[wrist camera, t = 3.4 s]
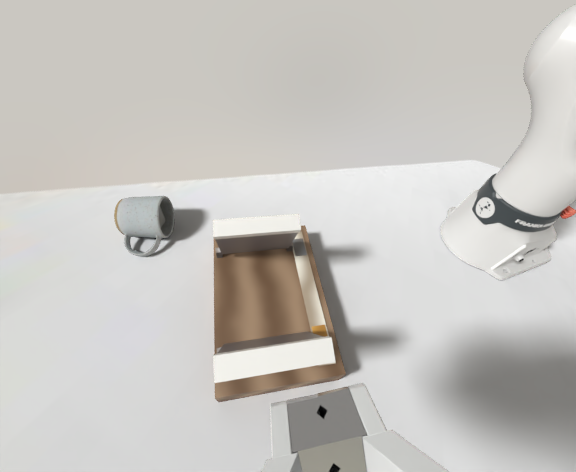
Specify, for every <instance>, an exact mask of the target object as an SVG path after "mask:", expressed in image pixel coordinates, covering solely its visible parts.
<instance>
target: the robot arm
mask: <svg viewBox="0 0 576 472" xmlns="http://www.w3.org/2000/svg"><path fill="white" fill-rule="evenodd" d="M523 74H524V81H525V84H526V86H527V89H528V91H529V94H530V98H531V109H532V112H531V120H530V124H529V127H528V130H527V133H526V135H525V137H524V139H523V141H522V142H521V144H520V145H519V147H518V148H517V150H516V151H515V152H514V154H513V155H512V156H511V157H510V159H509V160H508V161H507V162H506V164H505V165H504V166H503V167H502V168H501V170H500V171H499V172H498V173H497V174H494V175H493V176H491V177H490V178H489V179H488V180H487V181H486V182H485V183H484V184H483V186H482V187H481V188H480V189H479V190H475V191H473V192H472V193H471V194H470V195H469V196H468V197H467V198H466V199H465V200H464V201H463V202H462V203H461V204H460V205H459V206H458V207H452V208H450V209H449V210H448V213H447V219H446V220H445V221H444V222H443V223H442V225H441V236H442V239H443V241H444V243H445V244H446V246H447V247H448V248H449V250H450V251H451V252H452V253H453V254H454V255H456V256H457V257H458V258H459V259H461V260H462V261H464V262H466V263H467V264H469V265H471V266H474V267H476V268H479V269H482V270H484V271H486V272H487V273H489V274H490V275H491V276H493V277H495V278H496V279H498V280H505V279H508V278H510V277H513V276H515V275H518V274H520V273H523V272H525V271H528V270H530V269H532V268H535V267H537V266H540V265H542V264H545V263H547V262H548V261H550V260H551V255H550V252H549V250H548V248H547V247H548V246H549V245H551V244H552V243H553V242H555V241H556V239H557V233H556V231H555V229H554V227H553V224H554V223H555V222H556V221H557V219H558V217H559V216H561V217H562V218H563V219H565V218H568V217H571V216H572V215H574V214H575V213H576V210H574V209H573V208H571V207H570V206H569V205H570V204H572V203H573V202H574V201H575V200H576V4H575V5H573V6H571V7H570V8H568V9H567V10H565V11H564V12H562V13H561V14H560V15H558V16H557V17H556V18H555V19H554V20H552V21H551V22H550V23H549V24H548V25H547V26H546V27H545V28H544V29H543V31H542V32H541V33H540V34H539V36H538V37H537V38H536V40H535V41H534V43H533V44H532V46H531V48H530V50H529V52H528V54H527V57H526V60H525V64H524V73H523ZM270 419H271V448H272V459H268V460H266V462H265V464H264V466H263V468H262V470H261V472H449V471H448V470H446V469H445V468H444V467H442V466H441V465H440V464H438V463H437V462H435V461H434V460H433V459H431V458H430V457H429V456H427V455H426V454H425V453H423V452H422V451H420V450H419V449H418V448H416V447H415V446H414V445H412V444H411V443H410V442H408V441H407V440H405V439H404V438H403V437H401V436H400V435H399V434H397V433H396V432H395V431H393V430H388V431H387V430H386V427H385V425H384V423H383V421H382V419H381V417H380V415H379V413H378V411H377V409H376V407H375V405H374V403H373V401H372V398H371V396H370V394H369V392H368V390H367V388H366V386H365V385H364V384H363V383H360V384H355V385H351V386H348V387H343V388H339V389H335V390H330V391H326V392H322V393H318V394H315V395H310V396H305V397H300V398H295V399H290V400H287V401H282V402H277V403H272V404H271V407H270Z"/></svg>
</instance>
